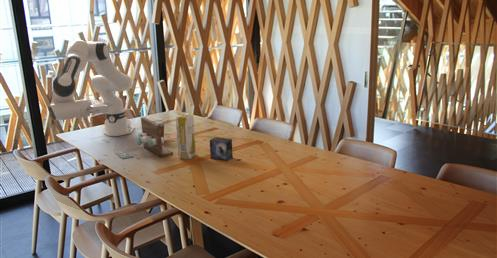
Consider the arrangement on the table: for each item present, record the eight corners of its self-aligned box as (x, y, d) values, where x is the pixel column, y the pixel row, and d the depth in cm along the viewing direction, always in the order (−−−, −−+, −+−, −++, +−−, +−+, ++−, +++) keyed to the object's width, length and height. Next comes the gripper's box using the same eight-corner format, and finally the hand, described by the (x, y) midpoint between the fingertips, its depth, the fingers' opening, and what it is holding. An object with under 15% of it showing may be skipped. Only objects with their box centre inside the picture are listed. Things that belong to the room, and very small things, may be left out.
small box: (209, 158, 223) (208, 139, 220) (216, 155, 229) (215, 136, 226) (227, 161, 218) (226, 142, 215) (233, 157, 224) (232, 138, 221)
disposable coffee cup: (168, 138, 262) (166, 120, 258) (163, 143, 252) (162, 124, 249) (153, 138, 263) (151, 120, 259) (148, 143, 253) (146, 124, 250)
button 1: (141, 141, 237) (141, 134, 235) (139, 140, 240) (138, 132, 239) (154, 139, 241) (154, 131, 240) (151, 137, 244) (151, 130, 243)
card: (122, 159, 226) (122, 157, 226) (115, 153, 236) (115, 152, 236) (133, 156, 230) (133, 155, 229) (126, 151, 239) (125, 150, 239)
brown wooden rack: (159, 157, 227) (156, 125, 222) (143, 147, 245) (140, 117, 240) (173, 154, 231) (170, 123, 226) (156, 145, 250) (154, 115, 245)
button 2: (151, 147, 225) (150, 139, 224) (148, 145, 229) (147, 138, 228) (164, 144, 230) (164, 137, 228) (161, 143, 233) (160, 135, 232)
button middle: (140, 145, 229) (139, 138, 228) (137, 144, 233) (136, 136, 231) (153, 143, 233) (152, 135, 232) (150, 141, 237) (149, 133, 236)
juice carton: (191, 159, 222) (188, 115, 216) (177, 159, 224) (173, 115, 217) (197, 154, 231) (194, 111, 224) (183, 153, 232) (180, 111, 226)
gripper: (89, 105, 203) (117, 101, 211) (78, 99, 219) (105, 95, 227) (90, 118, 205) (118, 113, 212) (80, 110, 221) (106, 107, 229)
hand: (111, 104), depth 220 cm, fingers closed
